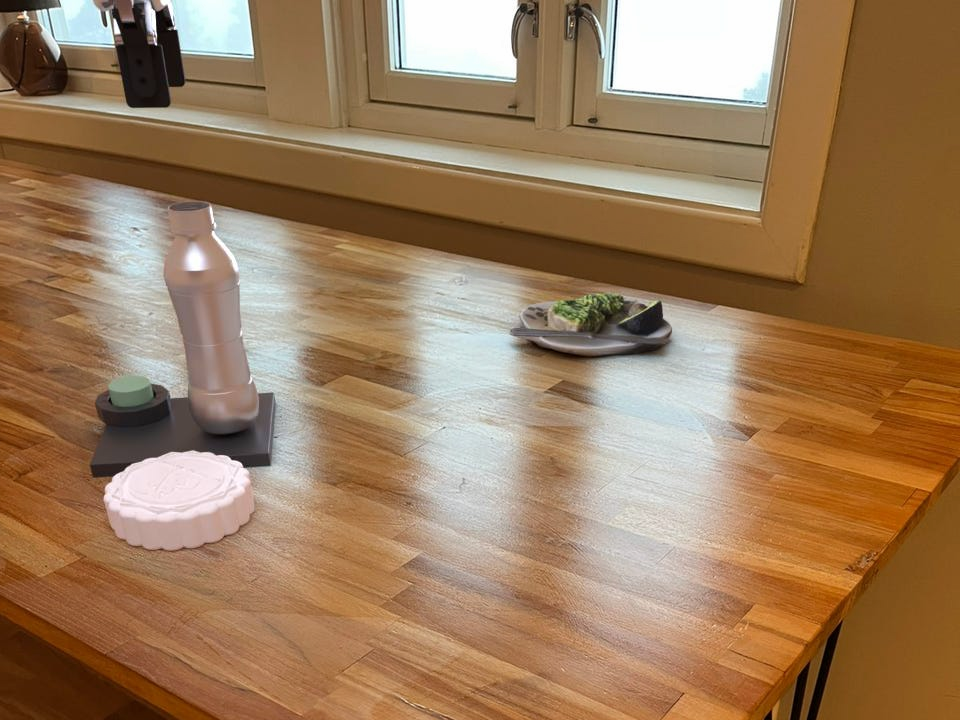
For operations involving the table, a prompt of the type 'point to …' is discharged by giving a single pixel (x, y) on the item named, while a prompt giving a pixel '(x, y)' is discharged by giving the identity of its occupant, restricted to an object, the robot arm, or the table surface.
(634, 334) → the salad plate
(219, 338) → the plastic bottle
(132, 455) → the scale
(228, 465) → the mooncake
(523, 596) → the table surface
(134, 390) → the button
